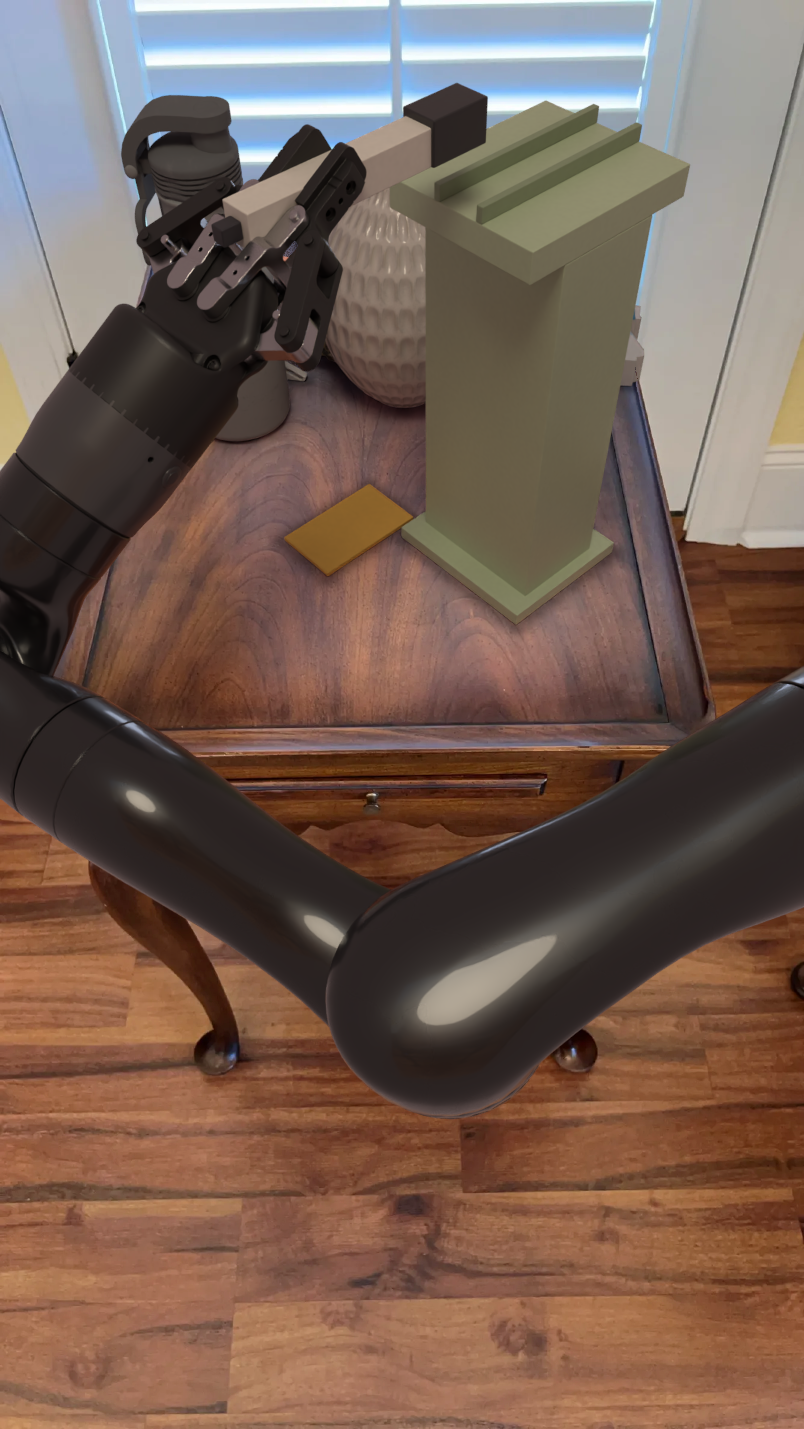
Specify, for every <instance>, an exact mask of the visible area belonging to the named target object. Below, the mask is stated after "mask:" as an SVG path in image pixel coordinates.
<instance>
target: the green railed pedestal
mask: <svg viewBox="0 0 804 1429" xmlns="http://www.w3.org/2000/svg"><path fill="white" fill-rule="evenodd" d="M599 110H600V106H599V105H598V104H595V103H592V104H590V105H587V106H586V107H584V108H582V109H580V110H577V111H576V112H573V111H571V110H569V109H566V108H565V107H562V106H560V105H557V104H555V103H552V102H550V101H548V100H544V101H541V102H539V103H537V104H535V105H533V106H531V107H529V108H527V109H525V110H523V111H521V112H519V113H516V114H514V115H512V116H510V117H508V118H506V119H504V120H502V121H500V122H498V123H496V124H493V125H491V126H489V127H487V128H486V143H485V144H483V145H481V146H479V147H477V148H474V149H472V150H470V151H468V152H466V153H464V154H462V155H460V156H458V157H456V158H454V159H452V160H450V161H448V162H446V163H444V164H442V165H440V166H438V167H436V168H432V167H431V168H429V169H426V170H424V171H422V172H420V173H418V174H416V175H414V176H412V177H410V178H408V179H406V180H404V181H402V182H400V183H398V184H396V185H394V186H392V187H390V208H392V209H394V210H396V211H397V212H399V213H401V214H403V215H405V216H406V217H408V218H410V219H412V220H414V221H415V222H417V223H419V224H421V225H423V226H424V227H425V306H426V403H425V511H423V512H422V513H421V514H419V515H417V516H416V517H415V518H413V520H412V521H410V522H409V523H407V524H406V525H404V526H403V527H401V528H400V532H401V534H400V535H401V538H402V539H404V540H405V541H406V542H407V543H409V544H410V545H411V546H412V547H414V548H415V549H416V550H418V551H419V552H421V554H423V555H424V556H426V557H427V558H428V559H430V560H431V561H432V562H434V563H435V564H436V565H438V566H439V567H440V569H442V570H444V571H445V572H446V573H448V574H449V575H450V576H452V577H453V578H454V579H456V580H457V581H458V582H459V583H461V584H462V585H463V586H465V587H466V588H467V589H469V591H471V592H472V593H474V594H475V595H476V596H477V597H479V598H480V599H481V600H482V601H484V602H486V603H487V604H488V605H489V606H491V607H492V608H493V609H495V610H496V611H497V612H499V614H501V615H502V616H504V617H505V618H506V619H507V620H509V621H510V622H511V623H513V624H514V625H518V624H519V623H521V622H522V621H524V620H525V619H526V618H527V617H529V616H530V615H531V614H533V613H534V612H535V611H537V610H539V608H540V607H542V606H543V605H545V604H546V603H547V602H549V601H550V600H551V599H553V598H554V597H555V596H556V595H557V594H559V593H560V592H562V591H563V590H564V589H566V588H567V587H569V585H571V584H572V583H574V582H575V581H576V580H578V579H579V578H580V577H581V576H584V574H586V573H587V572H588V571H589V570H591V569H592V568H593V567H595V566H596V565H598V564H599V563H600V562H601V561H603V560H604V559H606V557H608V556H609V555H611V554H612V553H613V550H614V544H615V543H614V541H613V540H611V539H610V538H608V537H607V536H605V535H604V534H602V533H600V532H599V531H598V530H596V529H595V528H594V526H595V522H596V516H597V511H598V506H599V500H600V494H601V489H602V484H603V479H604V473H605V468H606V464H607V458H608V452H609V447H610V442H611V437H612V436H611V435H612V432H613V426H614V421H615V417H616V411H617V404H618V399H619V395H620V389H621V385H620V384H621V379H622V374H623V368H624V363H625V358H626V353H627V347H628V342H629V337H630V331H631V326H632V321H633V315H634V310H635V305H637V299H638V294H639V289H640V283H641V278H642V274H643V273H642V272H643V268H644V263H645V256H646V251H647V246H648V240H649V236H650V230H651V224H652V220H653V215H654V214H656V213H657V212H659V211H662V210H663V209H665V208H666V207H668V206H670V205H671V204H674V203H675V202H677V201H679V200H680V199H682V198H684V196H685V191H686V188H687V187H686V186H687V182H688V177H689V173H690V169H691V164H690V163H689V162H687V161H684V160H682V159H680V158H678V157H675V156H672V154H671V155H670V154H669V153H666V152H664V151H662V150H660V149H658V148H655V147H652V146H650V145H648V144H646V143H643V142H641V135H642V129H643V124H642V123H639V122H637V121H636V122H634V123H632V124H629V125H628V126H626V127H624V128H622V129H620V130H619V131H616V130H613V129H612V128H609V127H607V126H605V125H603V124H600V123H598V120H599V119H598V118H599Z"/></svg>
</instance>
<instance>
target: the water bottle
mask: <svg viewBox="0 0 804 1429" xmlns="http://www.w3.org/2000/svg"><path fill="white" fill-rule="evenodd" d="M231 124H232V114H231V108H230V103H229V101H228V100H227V99H225V98H223V97H221V96H213V95H188V94H187V95H185V94H184V95H183V94H168V95H162V96H159V97H156V98H153V99H151V100H150V101H149V102H148V103H146V104H145V105H143V108H141V110H140V112H139V113H138V115H137V116H136V117H135V119H134V121H133V122H132V123H131V124H130V127H129V128H128V130H127V131H126V133H125V134H124V137H123V140H122V142H121V149H120V150H121V151H120V157H121V163H122V167H123V171H124V175H125V176H126V177H127V178H129V179H131V180H135V181H134V182H135V186H136V189H137V190H136V191H137V194H138V201H137V203H136V204H135V208H134V223H135V228H136V232H137V235H138V234H139V232H140V231H141V230H142V229H144V228H145V227H147V222H146V218H147V217H146V216H147V209H148V207H149V206H150V203H151V202H152V200H153V198H154V196H155V195H156V196H157V200H158V204H159V210H160V214H161V217H162V216H163V215H165V214H166V213H168V212H169V211H171V210H172V209H174V208H175V207H177V206H178V205H180V204H181V203H183V202H184V201H186V200H187V199H189V198H190V197H192V196H193V195H195V194H196V193H198V192H199V191H201V190H202V189H204V188H205V187H207V186H208V185H210V184H211V183H213V182H215V181H216V180H218V179H219V178H221V177H228V178H229V179H230V180H231V181H232V182H233V184H234V185H244V178H243V172H242V164H241V159H240V151H239V146H238V143H237V140H236V139H235V138H234V137H233V136H232V135H231V133H230V129H229V127H230V126H231ZM165 132H166V133H165ZM159 133H164V134H162V135H161V136H160V137H158V138H157V139H156V140H154V141H153V143H152V144H151V145H150V142H149V136H151V135H153V134H159ZM217 213H219V214H223V213H225V212H224V210H223V209H222V207H220V208H218V209H217V210H215V211H214V212H212V213H211V214H209V215H208V216H206V217H205V220H206V221H208V222H209V221H210V219H211V218H212V216H213V215H215V214H217ZM141 252H142V257H143V259H144V260H143V261H144V262H145V264H146V266H149V267H152V266H151V262H150V259H149V257H148V256H147V255H146V253H145V252H144V251H143V250H142V249H141ZM262 271H263V272H264V273H265V274H266V276H267V277H268V278H269V279H270V280H271V282H272V283H274V278H273V275H272V274H271V273H270V272H269V270H268V269H267V268H266V267H263V268H262ZM285 361H286V360H282V361H268V363H267V364H266V366H265V367H264V368H263V369H262V370H261V371H260V372H258V373H256V374H254V375H253V376H251V377H250V378H248V379H247V380H246V381H245V382H244V383H243V384H242V385H241V386H240V388H239V390H238V394H237V397H238V401H239V405H238V408H237V410H236V411H235V413H234V414H233V415H232V417H231V418H230V419H229V420H228V422H227V423H226V424H225V426H224V427H223V428H222V430H221V431H220V432H219V434H218V435H217V436H216V437H215V439H218V440H220V441H222V440H223V441H226V442H227V441H228V442H244V441H250V440H255V439H259V438H261V437H263V436H266V435H268V434H270V433H271V432H273V431H275V430H277V428H279V427H280V426H281V425H282V424H283V422H284V421H285V420H286V418H287V416H288V414H289V412H290V408H291V397H290V390H289V389H290V388H289V382H288V379H287V374H286V366H285Z"/></svg>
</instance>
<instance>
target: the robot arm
mask: <svg viewBox="0 0 804 1429" xmlns="http://www.w3.org/2000/svg"><path fill="white" fill-rule="evenodd" d="M330 150H331V152H330V153H329V154H328V155H327V157H326V158H325V159H324V161H323V162H322V163H321V165H320V166H319V167H318V169H317V170H316V171H315V173H314V174H313V175H312V177H311V178H310V179H309V181H308V182H307V183H306V185H305V186H304V187H303V190H302V191H301V193H300V194H299V195H298V197H297V198H296V199H295V201H296V203H297V204H298V205H295V206H293V207H291V208H289V209H288V210H287V211H286V213H285V214H284V215H283V216H282V217H281V218H280V220H279V221H278V222H277V223H276V224H275V225H274V227H273V228H272V229H271V230H270V231H269V233H268V234H267V235H266V236H265V237H255V238H254V239H253V240H252V241H250V242H249V243H248V244H247V245H246V247H245V248H243V247H241V246H240V245H238V244H236V243H234V244H232V245H230V246H228V247H226V248H224V247H222V246H221V245H219V244H217V243H216V242H215V241H214V238H213V232H212V227H211V224H213V223H215V222H217V221H219V220H221V219H224V218H225V213H223V214H219V213H217V214H215V215H213V216H212V218H211V219H210V221H209V222H208V221H206V220H205V217H206V216H208V215H209V214H211V213H212V212H214V211H215V210H217V209H218V208H220V207H222V209H223V210H224V206H223V201H222V200H223V199H224V198H226V197H229V196H231V195H233V194H235V193H237V192H240V191H242V190H244V189H246V188H248V187H251V186H253V185H255V184H257V183H259V182H262V181H264V180H266V179H268V178H270V177H273V176H275V175H277V174H279V173H282V172H284V171H286V170H288V169H290V168H293V167H295V166H297V165H299V164H301V163H304V162H306V161H308V160H310V159H312V158H315V157H317V156H319V155H321V154H323V153H326V152H328V151H330ZM366 174H367V171H366V168H365V166H364V164H363V163H362V161H361V159H360V157H359V156H358V154H357V152H356V151H355V149H354V148H353V147H351V146H349V145H347V144H345V142H343V141H339V142H337V143H336V144H335V145H334V146H333V147H331V146H330V144H329V142H328V140H327V139H326V137H325V135H324V134H323V132H322V130H321V129H319V128H317V127H315V126H313V125H311V124H309V123H307V124H304V125H303V126H301V127H300V129H299V130H298V131H297V132H296V133H294V134H293V135H292V136H291V137H290V138H288V140H287V141H286V142H285V144H283V146H282V149H280V150H279V151H278V153H277V155H276V156H275V157H274V158H273V160H272V161H271V162H270V164H269V165H268V166H267V168H266V169H265V170H264V172H263V173H262V174H261V176H260V177H259V178H258V179H257V178H252V179H249V180H247V181H246V182H243V185H234V184H233V182H232V181H231V180H230V179H229V178H228V177H221V178H219V179H218V180H216V181H215V182H213V183H211V184H210V185H208V186H207V187H205V188H204V189H202V190H201V191H199V192H198V193H196V194H195V195H193V196H192V197H190V198H189V199H187V200H186V201H184V202H183V203H181V204H180V205H178V206H177V207H175V208H174V209H172V210H171V211H169V212H168V213H166V214H165V215H163V216H162V215H161V216H160V217H159V218H156V220H154V221H152V222H151V223H149V224H148V225H146V227H145V228H144V229H142V230H141V231H140V232H139V234H138V233H137V235H136V240H135V241H136V245H137V246H138V247H139V248H140V249H141V251H142V250H143V251H144V252H145V253H146V255H147V256H148V257H149V259H150V262H151V266H150V267H151V270H152V273H153V274H152V276H150V278H149V279H148V281H147V282H146V285H145V290H144V293H143V296H142V298H141V300H140V302H139V304H138V305H137V307H135V306H133V305H131V304H130V303H119V304H117V305H116V306H114V307H113V309H112V310H111V312H110V313H109V315H107V317H106V318H105V319H104V321H103V322H102V323H101V325H100V326H99V327H98V329H97V331H96V332H95V333H94V335H93V336H92V338H90V340H89V342H88V343H86V345H85V347H84V348H83V349H82V351H81V352H80V353H79V355H78V356H77V357H76V359H75V360H74V361H73V362H72V364H71V365H70V366H69V368H68V369H67V371H66V372H65V374H64V375H63V376H62V377H61V379H60V380H59V382H58V383H57V384H56V386H55V387H54V388H53V389H52V391H51V392H50V394H49V395H48V396H47V398H46V399H45V400H44V401H43V403H42V405H41V406H40V408H39V409H38V410H37V411H36V413H35V415H34V417H33V419H32V420H31V422H30V424H29V426H28V428H27V430H26V432H25V434H24V436H23V437H22V439H21V441H20V443H18V445H17V447H16V449H15V452H13V453H12V454H11V455H10V457H9V458H8V460H7V461H6V462H5V463H4V465H3V466H2V468H1V469H0V800H1V801H3V802H4V803H5V804H6V805H7V806H8V807H10V808H11V809H13V810H14V811H15V812H16V813H18V814H19V815H20V816H22V817H24V819H26V820H28V822H30V823H31V824H33V825H35V826H36V827H37V828H39V829H41V830H42V831H43V832H45V833H46V834H48V835H50V836H51V837H52V838H54V839H56V841H58V842H60V843H61V844H63V845H64V846H65V847H67V848H69V849H70V850H72V851H73V852H75V853H76V854H78V856H81V857H82V858H84V859H85V860H87V861H89V862H90V863H91V864H93V865H95V866H96V867H98V868H100V869H101V870H103V871H104V872H106V873H107V874H109V875H111V876H113V877H114V878H115V879H117V880H119V881H121V882H123V883H124V884H126V885H128V886H129V887H130V888H133V889H134V890H136V891H138V892H139V893H141V894H144V896H147V897H148V898H150V899H151V900H153V901H155V902H157V903H158V904H160V905H162V906H163V907H165V908H167V909H168V910H170V911H172V912H173V913H175V914H177V915H178V916H180V917H182V918H183V919H185V920H187V921H188V922H190V923H192V924H193V925H195V926H197V927H199V928H200V929H202V930H204V931H205V932H206V933H208V934H210V935H211V936H213V937H214V938H215V939H217V940H219V941H221V943H224V944H225V945H227V947H229V948H231V949H233V950H234V951H235V952H237V953H238V954H240V955H241V956H243V957H244V958H246V959H247V960H248V961H249V962H251V963H252V964H254V965H255V966H256V967H258V968H259V969H260V970H261V971H263V972H264V973H266V974H267V975H268V976H270V977H271V978H272V979H274V980H275V981H276V982H278V983H279V984H280V985H281V986H283V987H284V989H286V990H287V991H289V992H290V993H291V994H292V995H294V997H295V998H297V999H298V1000H299V1001H301V1003H303V1004H304V1005H305V1006H306V1007H307V1008H308V1009H309V1010H310V1011H311V1012H312V1013H313V1014H315V1016H316V1017H318V1018H319V1020H321V1021H322V1022H323V1023H324V1024H325V1025H326V1026H327V1027H328V1028H329V1031H330V1035H331V1038H332V1041H333V1043H334V1045H335V1048H336V1049H337V1051H338V1052H339V1055H340V1057H341V1059H342V1060H343V1061H344V1063H345V1064H346V1065H347V1067H348V1068H349V1069H350V1071H351V1072H352V1073H353V1074H354V1075H355V1076H356V1077H357V1078H358V1079H359V1080H360V1081H361V1082H362V1083H363V1084H364V1085H365V1086H366V1087H367V1088H369V1090H371V1091H373V1092H374V1093H375V1094H377V1095H378V1096H379V1097H381V1098H383V1099H384V1100H385V1101H386V1102H388V1103H389V1104H393V1105H394V1106H397V1107H399V1108H402V1109H403V1110H406V1111H408V1112H410V1113H413V1114H418V1115H420V1116H423V1117H426V1118H427V1117H428V1118H432V1119H441V1120H458V1119H467V1118H473V1117H477V1116H479V1115H480V1116H481V1115H482V1114H486V1113H488V1112H491V1111H494V1110H495V1109H497V1108H499V1107H500V1106H502V1105H503V1104H505V1103H508V1101H510V1100H512V1099H513V1098H514V1097H515V1096H516V1095H517V1094H519V1093H520V1092H521V1091H522V1090H523V1089H524V1087H526V1086H527V1084H528V1083H529V1082H530V1080H531V1079H532V1077H533V1076H534V1074H535V1073H536V1071H537V1070H538V1069H539V1067H540V1065H541V1063H542V1062H544V1061H545V1060H546V1058H548V1057H549V1056H550V1055H551V1054H553V1052H555V1051H556V1050H557V1049H559V1048H560V1047H561V1046H562V1045H564V1044H565V1043H566V1042H567V1041H569V1039H571V1038H572V1037H573V1036H574V1035H575V1034H578V1032H579V1031H581V1030H582V1029H583V1028H585V1027H586V1026H587V1025H589V1024H590V1023H591V1022H592V1021H594V1020H595V1019H597V1018H598V1017H599V1016H600V1015H602V1014H603V1013H604V1012H607V1010H609V1009H610V1008H612V1007H613V1006H614V1005H616V1004H617V1003H618V1002H620V1001H621V1000H622V999H624V998H626V997H627V996H628V995H630V994H631V993H632V992H634V991H635V990H636V989H638V988H639V987H641V986H642V985H644V984H645V983H646V982H648V981H649V980H651V979H652V978H653V977H654V976H656V975H658V974H659V973H660V972H662V971H664V970H665V969H667V968H669V967H670V966H671V965H673V964H674V963H676V962H677V961H679V960H681V959H682V958H684V957H686V956H688V955H690V954H691V953H693V952H695V951H697V950H699V949H702V947H705V946H707V945H709V944H711V943H713V942H716V941H717V940H720V939H723V938H725V937H727V936H729V935H733V934H735V933H737V932H741V931H743V930H746V929H749V928H751V927H754V926H757V925H760V924H763V923H765V922H769V921H771V920H773V919H776V918H780V917H783V916H785V915H787V914H790V913H793V912H796V911H798V910H801V909H803V908H804V665H803V666H801V667H798V668H797V669H796V670H794V671H792V672H790V673H788V674H787V675H785V676H783V677H781V678H780V679H778V680H776V681H775V682H773V683H771V684H770V685H768V686H765V687H764V688H763V689H761V690H760V691H758V692H756V693H755V694H753V695H751V696H750V697H749V698H747V699H745V700H744V701H742V702H741V703H739V704H737V705H736V706H734V707H733V708H731V709H730V710H727V711H726V712H724V713H723V714H722V715H720V716H718V717H716V718H714V719H713V720H711V721H710V722H708V723H707V724H704V725H703V726H701V727H699V728H698V729H696V730H695V731H693V732H692V733H690V734H689V735H687V736H686V737H684V738H682V739H680V740H679V741H677V742H676V743H674V744H672V745H670V746H669V747H668V748H666V749H665V750H664V751H662V752H660V753H658V754H657V755H656V756H654V757H653V758H651V759H650V760H648V761H647V762H645V763H643V764H642V765H641V766H639V767H638V768H637V769H635V770H634V771H632V772H631V773H629V774H628V775H626V776H625V777H623V778H622V779H620V780H619V781H617V782H616V783H614V784H613V785H611V786H609V787H608V788H607V789H605V790H603V791H601V792H600V793H598V794H596V795H594V796H593V797H590V798H589V799H587V800H585V801H583V802H582V803H580V804H578V805H576V806H574V807H572V808H570V809H568V810H566V811H563V812H561V813H559V814H558V815H555V816H553V817H551V818H549V819H546V820H544V821H542V822H539V823H537V824H536V825H533V826H531V827H528V828H526V829H524V830H522V831H518V832H517V833H515V834H513V835H510V836H508V837H506V838H504V839H502V840H499V841H496V842H495V843H493V844H490V845H488V846H486V847H483V848H481V849H479V850H476V851H474V852H472V853H469V854H467V855H465V856H462V857H459V858H458V859H455V860H453V861H451V862H448V863H446V864H443V865H441V866H439V867H436V868H434V869H432V870H430V871H428V872H426V873H423V874H420V875H418V876H416V877H414V878H412V879H409V880H408V881H406V882H403V883H401V884H400V885H398V886H395V887H393V888H392V889H391V888H388V887H387V886H384V885H382V884H380V883H378V882H376V881H374V880H372V879H369V878H367V877H365V875H362V874H360V873H358V872H357V871H356V870H355V871H354V870H353V869H352V868H349V867H348V866H346V865H344V864H342V863H341V862H340V861H337V860H336V859H335V858H332V856H329V855H328V854H326V853H324V852H323V851H321V850H320V849H319V848H317V847H316V846H314V845H313V844H311V843H310V842H308V841H307V840H306V839H304V838H302V837H301V836H299V835H297V833H296V832H293V831H292V830H291V829H290V828H288V827H287V826H286V825H285V824H283V823H282V822H280V821H279V820H278V819H276V818H275V817H274V816H273V815H271V814H270V813H269V812H267V811H266V810H265V808H262V807H261V806H260V805H259V804H258V803H256V802H255V801H254V800H252V799H251V798H250V797H248V796H247V795H246V794H245V793H243V792H242V791H241V790H240V789H239V788H237V787H236V786H235V785H233V784H232V783H231V782H230V781H229V780H227V778H225V777H224V776H222V775H221V774H220V773H218V772H217V771H216V770H214V769H213V768H212V767H211V766H209V765H208V764H206V763H205V762H204V761H203V760H201V759H199V758H198V756H196V755H194V754H193V753H192V752H191V751H189V750H188V749H186V748H185V747H184V746H182V745H180V744H179V743H178V742H176V741H175V740H174V739H172V738H170V737H169V736H168V735H166V734H164V733H163V732H161V731H160V730H158V729H157V728H155V727H153V726H152V725H151V724H148V723H147V722H146V721H144V720H143V719H141V718H139V717H137V716H135V715H134V714H132V713H131V712H130V711H127V710H126V709H124V708H123V707H121V706H120V705H118V704H116V703H114V702H113V701H111V700H110V699H108V698H106V697H104V696H103V695H101V694H100V693H97V692H96V691H94V690H92V689H90V688H88V687H85V686H83V685H81V684H79V683H76V682H74V681H71V680H68V679H65V678H62V677H59V676H55V673H56V672H57V670H58V667H59V665H60V662H61V660H62V657H63V655H64V653H65V651H66V648H67V646H68V644H69V641H70V640H71V637H72V635H73V633H74V630H75V628H76V624H77V621H78V619H79V617H80V616H79V615H80V613H81V610H82V607H83V606H84V602H85V600H86V599H87V597H88V596H89V594H90V593H91V591H93V589H94V588H95V587H96V586H97V585H98V584H99V582H101V579H102V578H103V577H104V576H105V574H106V573H107V572H108V570H109V569H110V568H111V566H112V565H113V564H114V562H115V561H116V560H117V559H118V557H119V556H120V555H121V553H122V552H123V551H124V549H125V548H126V547H127V545H128V544H129V543H130V541H131V540H132V538H134V537H135V535H136V534H138V532H139V531H140V530H141V529H142V528H143V527H144V526H145V524H147V523H148V522H149V521H150V520H151V519H152V518H153V517H154V516H155V515H156V514H157V513H158V512H159V511H160V510H161V509H162V507H163V506H164V505H165V504H166V503H167V501H169V499H170V498H171V496H172V495H173V494H174V493H175V491H176V490H177V488H178V487H179V486H180V484H181V483H182V482H183V480H184V479H185V478H186V477H187V475H188V474H189V473H190V471H191V470H192V469H193V468H194V466H195V465H196V464H197V463H198V461H199V459H200V458H201V457H202V456H203V455H204V453H205V452H206V451H207V449H208V448H209V447H210V445H211V444H212V443H213V441H214V440H215V439H216V438H215V437H216V436H217V435H218V434H219V432H220V431H221V430H222V428H223V427H224V426H225V424H226V423H227V422H228V420H229V419H230V418H231V417H232V415H233V414H234V413H235V411H236V410H237V408H238V405H239V401H238V397H237V394H238V390H239V388H240V386H241V385H242V384H243V383H244V382H245V381H246V380H247V379H248V378H250V377H251V376H253V375H254V374H256V373H258V372H260V371H261V370H262V369H263V368H264V367H265V366H266V364H267V363H268V361H282V360H285V361H292V362H294V363H295V365H297V366H298V368H299V369H300V370H302V371H304V372H311V371H314V370H315V369H316V368H317V367H318V365H319V364H320V362H321V358H322V351H323V347H324V343H325V339H326V335H327V331H328V327H329V323H330V319H331V315H332V312H333V308H334V304H335V300H336V296H337V292H338V288H339V284H340V280H341V276H342V272H343V267H342V265H341V263H340V262H339V261H338V259H337V258H336V256H335V254H334V253H333V251H332V249H331V248H330V246H329V242H328V240H329V236H330V233H331V232H332V230H333V229H334V228H335V226H336V225H337V224H338V222H339V221H340V220H341V218H342V217H343V216H344V214H345V213H346V212H347V211H348V208H349V207H351V205H352V204H353V203H354V201H355V200H356V199H357V197H358V196H359V195H360V193H361V192H362V190H363V187H364V184H365V179H366ZM293 243H296V245H297V246H296V248H295V249H294V250H293V251H292V253H291V254H290V255H289V256H287V257H288V259H287V260H286V261H284V260H283V256H284V255H285V253H286V252H287V250H288V249H289V248H290V247H291V246H292V245H293ZM263 267H266V268H267V269H268V270H269V272H270V273H271V274H272V275H273V277H274V283H272V282H271V280H270V279H269V278H268V277H267V276H266V274H265V273H264V272H263V271H262V268H263Z"/></svg>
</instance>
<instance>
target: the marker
mask: <svg viewBox="0 0 804 1429" xmlns="http://www.w3.org/2000/svg"><path fill="white" fill-rule="evenodd" d="M488 103H489V96H488V95H486V94H484V93H481V92H480V91H477V90H475V89H472V88H470V87H468V86H466V85H464V84H461V83H459V82H454V83H453V84H450V85H448V86H445V87H443V88H442V89H438V90H437V91H435V92H433V93H430V94H428V95H426V96H423V97H421V98H419V99H417V100H415V101H413V102H410V103H408V104H405V105H404V106H403V107H402V114H403V115H402V117H400V118H397V119H396V120H394V121H392V122H389V123H387V124H385V125H382V126H380V127H378V128H376V129H374V130H371V131H370V132H367V133H365V134H363V135H361V136H359V137H356V138H354V139H352V140H349V141H348V142H346V143H345V142H344V143H345V144H347V145H349V146H351V147H353V148H354V149H355V151H356V152H357V154H358V156H359V157H360V159H361V161H362V163H363V164H364V166H365V168H366V171H367V174H366V179H365V184H364V187H363V190H362V192H361V193H360V195H359V196H358V197H357V199H356V200H355V201H354V203H353V204H352V205H351V206H353V205H355V204H357V203H359V202H361V201H363V200H365V199H367V198H369V197H371V196H373V195H375V194H377V193H379V192H381V191H383V190H385V189H387V188H390V187H392V186H394V185H396V184H398V183H400V182H402V181H404V180H406V179H408V178H410V177H412V176H414V175H416V174H418V173H420V172H422V171H424V170H426V169H429V168H431V167H432V168H436V167H438V166H440V165H442V164H444V163H446V162H448V161H450V160H452V159H454V158H456V157H458V156H460V155H462V154H464V153H466V152H468V151H470V150H472V149H474V148H477V147H479V146H481V145H483V144H485V143H486V129H487V128H488V127H487V125H488V107H489V106H488ZM330 152H331V150H330V151H328V152H326V153H323V154H321V155H319V156H317V157H315V158H312V159H310V160H308V161H306V162H304V163H301V164H299V165H297V166H295V167H293V168H290V169H288V170H286V171H284V172H282V173H279V174H277V175H275V176H273V177H270V178H268V179H266V180H264V181H262V182H259V183H257V184H255V185H253V186H251V187H248V188H246V189H244V190H242V191H240V192H237V193H235V194H233V195H231V196H229V197H226V198H224V199H223V200H222V201H223V206H224V212H225V218H224V219H221V220H219V221H217V222H215V223H213V224H211V227H212V232H213V238H214V241H215V242H216V243H217V244H219V245H221V246H222V247H224V248H226V247H228V246H230V245H232V244H234V243H236V244H238V245H240V246H241V247H243V248H245V247H246V245H247V244H248V243H249V242H250V241H252V240H253V239H254V238H255V237H265V236H266V235H267V234H268V233H269V231H270V230H271V229H272V228H273V227H274V225H275V224H276V223H277V222H278V221H279V220H280V218H281V217H282V216H283V215H284V214H285V213H286V211H287V210H288V209H289V208H291V207H293V206H295V205H298V204H297V203H296V201H295V199H296V198H297V197H298V195H299V194H300V193H301V191H302V190H303V187H304V186H305V185H306V183H307V182H308V181H309V179H310V178H311V177H312V175H313V174H314V173H315V171H316V170H317V169H318V167H319V166H320V165H321V163H322V162H323V161H324V159H325V158H326V157H327V155H328V154H329V153H330Z"/></svg>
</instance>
